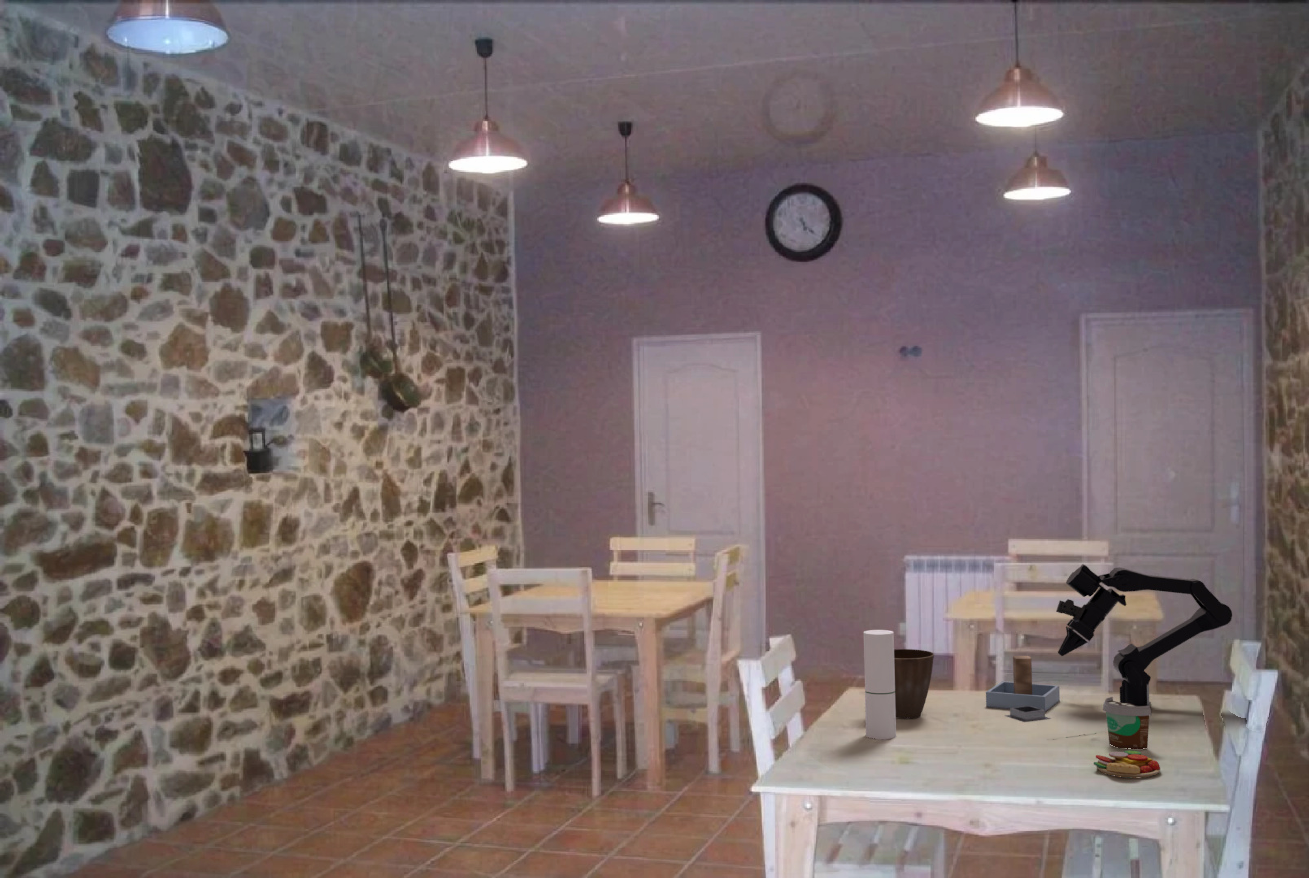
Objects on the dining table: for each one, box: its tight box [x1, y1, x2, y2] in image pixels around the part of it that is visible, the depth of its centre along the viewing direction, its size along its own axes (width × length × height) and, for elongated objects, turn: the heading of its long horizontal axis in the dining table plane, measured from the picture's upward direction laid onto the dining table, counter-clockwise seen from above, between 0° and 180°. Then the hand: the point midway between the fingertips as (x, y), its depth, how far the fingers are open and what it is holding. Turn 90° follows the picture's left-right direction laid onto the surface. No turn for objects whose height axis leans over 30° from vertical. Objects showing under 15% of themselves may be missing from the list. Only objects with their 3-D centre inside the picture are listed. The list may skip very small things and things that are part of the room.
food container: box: [1102, 696, 1152, 750], centre depth 295 cm, size 12×6×10 cm, turn 25°
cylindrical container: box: [863, 629, 897, 740], centre depth 311 cm, size 7×7×25 cm
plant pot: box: [894, 648, 935, 719], centre depth 332 cm, size 15×15×16 cm
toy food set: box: [1093, 749, 1161, 779], centre depth 275 cm, size 13×13×3 cm
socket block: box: [1004, 706, 1052, 723], centre depth 324 cm, size 8×8×3 cm
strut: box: [1012, 655, 1033, 695], centre depth 340 cm, size 4×4×12 cm
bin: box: [985, 681, 1061, 713], centre depth 340 cm, size 15×15×4 cm
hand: (1059, 654), depth 339 cm, fingers open, 9 cm apart
